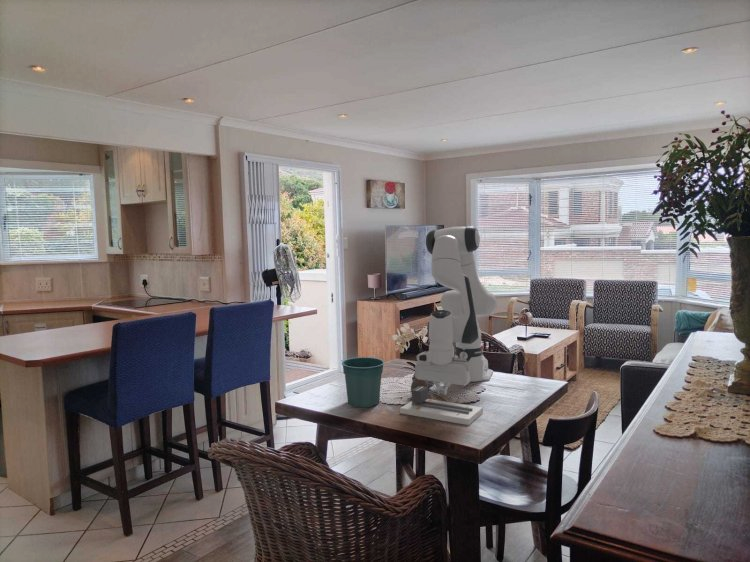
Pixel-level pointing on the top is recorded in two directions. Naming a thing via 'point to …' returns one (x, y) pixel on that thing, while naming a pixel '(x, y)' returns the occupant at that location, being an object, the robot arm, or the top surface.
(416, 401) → the fader tab
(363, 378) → the flower pot
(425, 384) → the vase
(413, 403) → the white slider track base
